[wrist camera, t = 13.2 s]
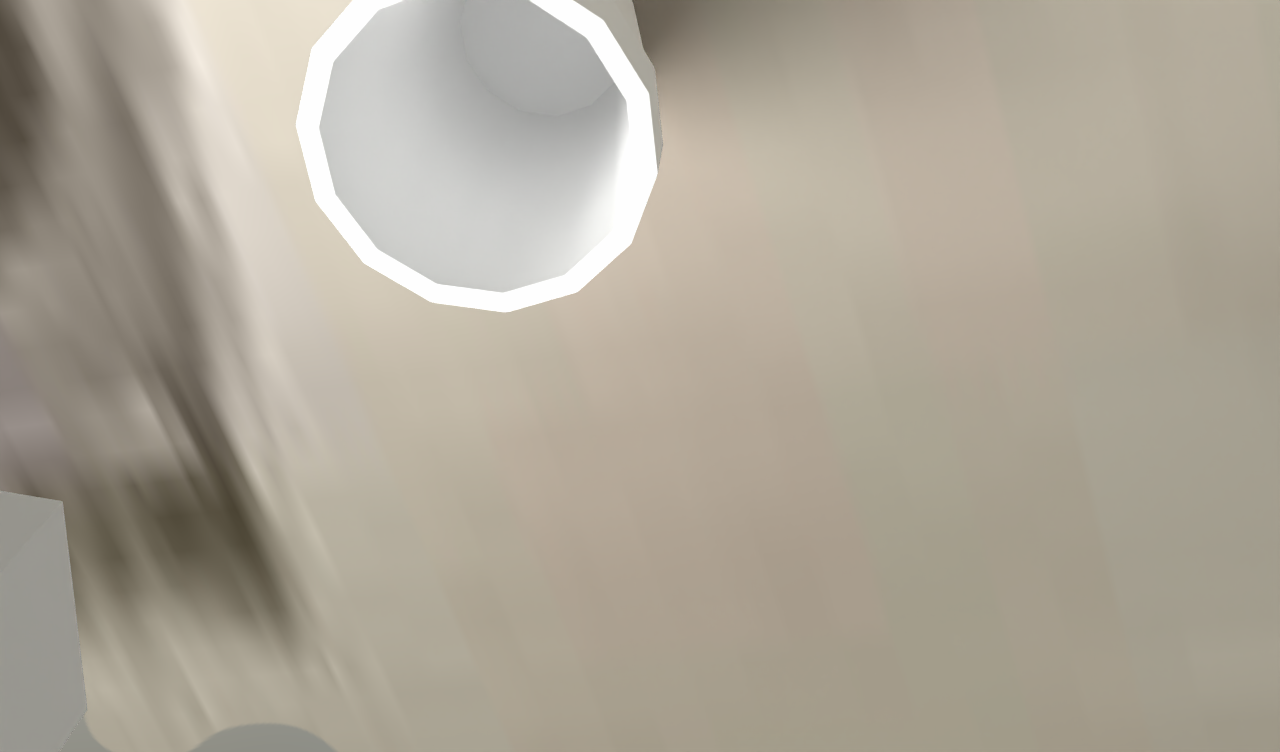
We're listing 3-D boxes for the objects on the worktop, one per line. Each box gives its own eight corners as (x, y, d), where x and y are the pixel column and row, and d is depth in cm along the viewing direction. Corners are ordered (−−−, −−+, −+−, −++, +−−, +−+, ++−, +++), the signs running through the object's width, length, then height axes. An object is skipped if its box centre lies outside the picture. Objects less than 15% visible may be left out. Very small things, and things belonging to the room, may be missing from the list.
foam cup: (363, -21, 42) (224, 84, 31) (582, -173, 39) (517, -119, 28) (517, 199, 46) (443, 365, 34) (728, 75, 43) (723, 212, 32)
